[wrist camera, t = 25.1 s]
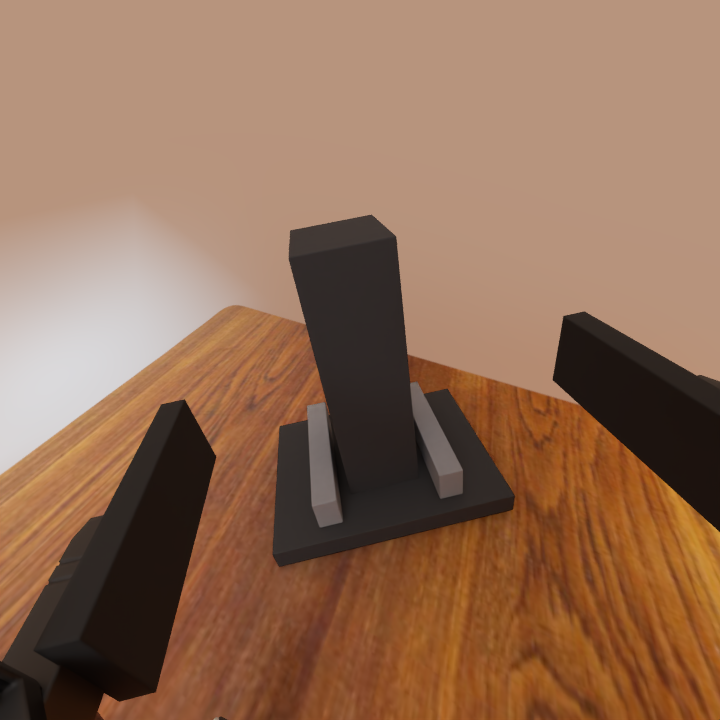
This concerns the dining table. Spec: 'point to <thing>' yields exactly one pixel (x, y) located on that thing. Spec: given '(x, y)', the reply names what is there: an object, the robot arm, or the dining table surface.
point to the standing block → (359, 345)
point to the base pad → (384, 504)
